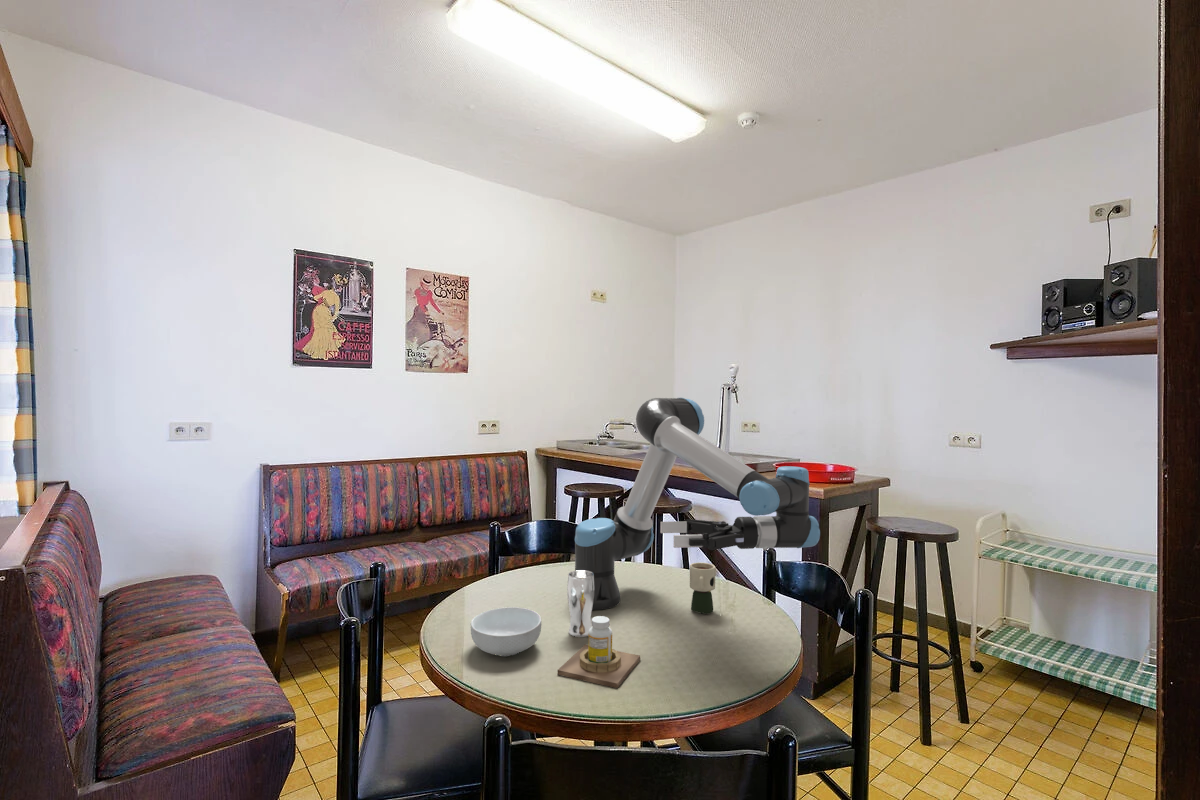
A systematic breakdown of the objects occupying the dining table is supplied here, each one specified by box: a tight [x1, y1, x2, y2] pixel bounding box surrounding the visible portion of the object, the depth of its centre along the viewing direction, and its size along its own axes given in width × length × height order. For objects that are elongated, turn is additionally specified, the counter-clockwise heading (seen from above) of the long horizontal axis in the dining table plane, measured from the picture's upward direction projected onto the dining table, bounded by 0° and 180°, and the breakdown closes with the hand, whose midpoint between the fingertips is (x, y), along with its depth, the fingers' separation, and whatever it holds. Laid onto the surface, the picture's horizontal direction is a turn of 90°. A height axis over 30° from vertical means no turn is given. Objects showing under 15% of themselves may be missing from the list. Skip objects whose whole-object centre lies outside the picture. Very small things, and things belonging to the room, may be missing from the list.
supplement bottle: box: [587, 615, 613, 663], centre depth 127 cm, size 5×5×10 cm
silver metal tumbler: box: [566, 570, 595, 638], centre depth 146 cm, size 7×7×15 cm
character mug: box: [689, 561, 716, 615], centre depth 161 cm, size 11×7×13 cm, turn 166°
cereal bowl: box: [470, 606, 542, 657], centre depth 136 cm, size 17×17×7 cm
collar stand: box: [557, 644, 641, 689], centre depth 127 cm, size 14×14×2 cm
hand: (666, 534), depth 135 cm, fingers open, 13 cm apart
